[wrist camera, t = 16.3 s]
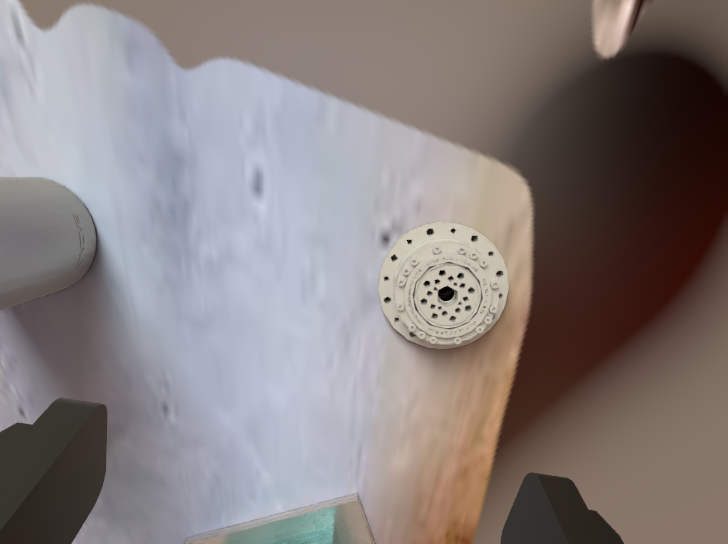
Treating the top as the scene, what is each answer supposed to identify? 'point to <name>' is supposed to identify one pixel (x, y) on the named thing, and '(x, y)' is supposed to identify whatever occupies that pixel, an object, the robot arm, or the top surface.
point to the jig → (299, 526)
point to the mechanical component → (443, 285)
